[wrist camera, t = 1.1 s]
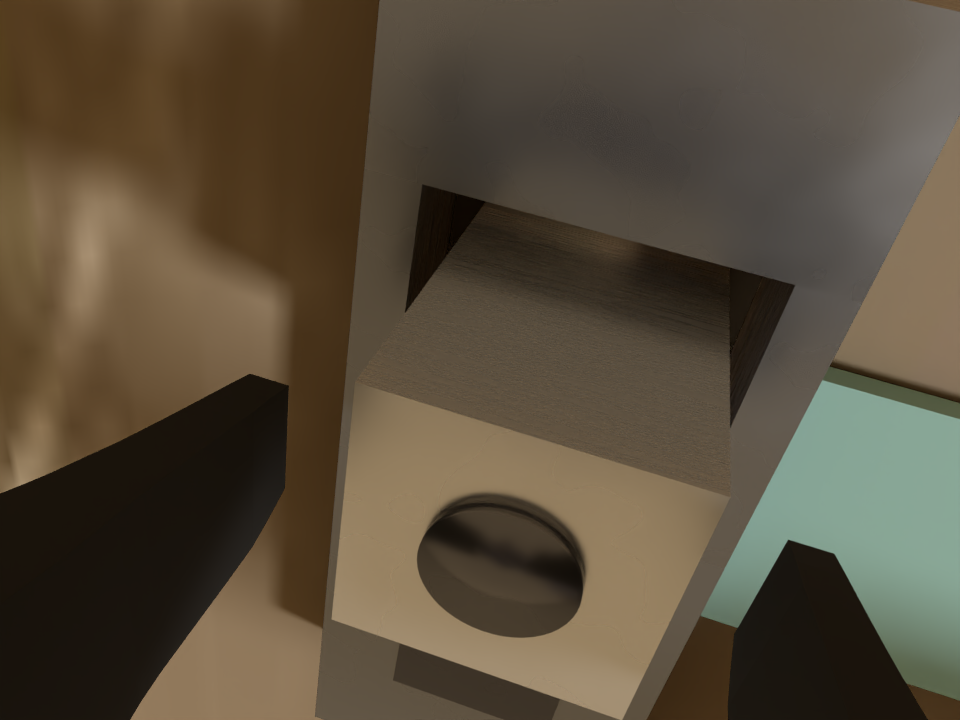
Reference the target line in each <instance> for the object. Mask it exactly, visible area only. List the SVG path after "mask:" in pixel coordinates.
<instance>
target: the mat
mask: <svg viewBox="0 0 960 720" xmlns="http://www.w3.org/2000/svg"><path fill="white" fill-rule="evenodd" d="M788 540H791V541H795V542H798V543H801V544H804V545H808V546H811V547H814V548H817V549H821V550H824V551H827V552H830V553H834V554H835V556H836V557H837V559H838V561H839V563H840V565H841V566H842V568H843V570H844V572H845V574H846V576H847V577H848V579H849V581H850V583H851V585H852V587H853V589H854V590H855V592H856V594H857V596H858V598H859V600H860V601H861V603H862V605H863V607H864V609H865V611H866V613H867V614H868V616H869V618H870V620H871V622H872V624H873V625H874V627H875V629H876V631H877V633H878V635H879V636H880V638H881V640H882V642H883V644H884V645H885V647H886V649H887V651H888V653H889V654H890V656H891V658H892V660H893V661H894V663H895V665H896V667H897V669H898V670H899V672H900V674H901V675H902V677H903V679H904V681H905V682H906V683H907V684H910V685H913V686H916V687H919V688H922V689H925V690H928V691H932V692H935V693H938V694H941V695H944V696H947V697H950V698H953V699H956V700H959V701H960V403H957V402H954V401H950V400H947V399H943V398H940V397H936V396H933V395H929V394H925V393H922V392H918V391H915V390H911V389H908V388H904V387H901V386H897V385H893V384H890V383H886V382H883V381H879V380H876V379H872V378H869V377H865V376H862V375H858V374H854V373H851V372H847V371H844V370H840V369H837V368H833V367H830V366H829V368H828V370H827V372H826V374H825V376H824V378H823V380H822V382H821V384H820V386H819V388H818V390H817V392H816V393H815V395H814V397H813V399H812V401H811V403H810V405H809V407H808V409H807V411H806V413H805V415H804V417H803V419H802V420H801V422H800V424H799V426H798V428H797V430H796V432H795V434H794V436H793V438H792V440H791V442H790V444H789V446H788V448H787V449H786V451H785V453H784V455H783V457H782V459H781V461H780V463H779V465H778V467H777V469H776V471H775V473H774V475H773V476H772V478H771V480H770V482H769V484H768V486H767V488H766V490H765V492H764V494H763V496H762V498H761V500H760V502H759V503H758V505H757V507H756V509H755V511H754V513H753V515H752V517H751V519H750V521H749V523H748V525H747V527H746V529H745V531H744V532H743V534H742V536H741V538H740V540H739V542H738V544H737V546H736V548H735V550H734V552H733V554H732V556H731V558H730V559H729V561H728V563H727V565H726V567H725V569H724V571H723V573H722V575H721V577H720V579H719V581H718V583H717V585H716V586H715V588H714V590H713V592H712V594H711V596H710V598H709V600H708V602H707V604H706V606H705V608H704V610H703V612H702V614H701V615H700V616H702V617H705V618H708V619H712V620H715V621H718V622H721V623H724V624H727V625H730V626H733V627H736V628H738V627H739V625H740V623H741V621H742V620H743V618H744V616H745V614H746V613H747V611H748V609H749V607H750V606H751V604H752V602H753V600H754V599H755V597H756V595H757V593H758V592H759V590H760V588H761V586H762V585H763V583H764V581H765V579H766V577H767V576H768V574H769V572H770V570H771V569H772V567H773V565H774V563H775V562H776V560H777V558H778V556H779V555H780V553H781V551H782V549H783V548H784V546H785V544H786V542H787V541H788Z"/></svg>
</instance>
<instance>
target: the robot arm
mask: <svg viewBox="0 0 960 720" xmlns="http://www.w3.org/2000/svg"><path fill="white" fill-rule="evenodd" d="M288 390H289V386H288V385H285V384H281V383H278V382H275V381H272V380H268V379H265V378H262V377H259V376H255V375H252V374H249V375H247V376H245V377H243V378H241V379H239V380H237V381H235V382H233V383H231V384H229V385H227V386H225V387H223V388H222V389H220V390H218V391H216V392H214V393H212V394H210V395H208V396H206V397H205V398H203V399H201V400H199V401H197V402H195V403H193V404H191V405H189V406H188V407H186V408H184V409H182V410H180V411H178V412H176V413H174V414H172V415H170V416H169V417H167V418H165V419H163V420H161V421H159V422H157V423H155V424H153V425H151V426H149V427H147V428H145V429H143V430H141V431H139V432H137V433H135V434H133V435H131V436H129V437H127V438H125V439H123V440H121V441H119V442H117V443H115V444H113V445H111V446H109V447H106V448H104V449H102V450H100V451H98V452H95V453H93V454H91V455H89V456H87V457H85V458H82V459H80V460H78V461H76V462H74V463H71V464H69V465H67V466H65V467H63V468H60V469H58V470H56V471H54V472H52V473H50V474H47V475H45V476H43V477H40V478H38V479H35V480H33V481H31V482H28V483H26V484H23V485H21V486H18V487H16V488H13V489H11V490H8V491H6V492H3V493H0V720H130V719H131V717H132V716H133V714H134V712H135V711H136V709H137V707H138V706H139V704H140V702H141V701H142V699H143V698H144V696H145V695H146V693H147V692H148V690H149V689H150V687H151V686H152V684H153V683H154V681H155V680H156V678H157V677H158V676H159V674H160V673H161V671H162V670H163V668H164V667H165V666H166V664H167V663H168V662H169V660H170V659H171V658H172V656H173V655H174V653H175V652H176V651H177V649H178V648H179V647H180V645H181V644H182V643H183V641H184V640H185V639H186V637H187V636H188V634H189V633H190V632H191V630H192V629H193V628H194V626H195V625H196V624H197V622H198V621H199V619H200V618H201V617H202V615H203V614H204V613H205V611H206V610H207V609H208V607H209V606H210V605H211V603H212V602H213V600H214V599H215V598H216V596H217V595H218V594H219V592H220V591H221V590H222V588H223V587H224V585H225V584H226V583H227V581H228V580H229V579H230V577H231V576H232V574H233V573H234V572H235V570H236V569H237V568H238V566H239V565H240V563H241V562H242V561H243V559H244V558H245V556H246V555H247V554H248V552H249V551H250V549H251V548H252V547H253V545H254V543H255V541H256V540H257V538H258V536H259V534H260V533H261V531H262V529H263V527H264V526H265V524H266V522H267V520H268V518H269V517H270V515H271V513H272V511H273V509H274V507H275V505H276V504H277V502H278V500H279V498H280V496H281V494H282V492H283V491H284V489H285V469H286V443H287V417H288ZM728 720H928V719H927V718H926V716H925V714H924V713H923V711H922V709H921V708H920V706H919V704H918V703H917V701H916V699H915V698H914V696H913V694H912V693H911V691H910V689H909V687H908V686H907V684H906V682H905V681H904V679H903V677H902V675H901V674H900V672H899V670H898V669H897V667H896V665H895V663H894V661H893V660H892V658H891V656H890V654H889V653H888V651H887V649H886V647H885V645H884V644H883V642H882V640H881V638H880V636H879V635H878V633H877V631H876V629H875V627H874V625H873V624H872V622H871V620H870V618H869V616H868V614H867V613H866V611H865V609H864V607H863V605H862V603H861V601H860V600H859V598H858V596H857V594H856V592H855V590H854V589H853V587H852V585H851V583H850V581H849V579H848V577H847V576H846V574H845V572H844V570H843V568H842V566H841V565H840V563H839V561H838V559H837V557H836V556H835V554H834V553H830V552H827V551H824V550H821V549H817V548H814V547H811V546H808V545H804V544H801V543H798V542H795V541H791V540H788V541H787V542H786V544H785V546H784V548H783V549H782V551H781V553H780V555H779V556H778V558H777V560H776V562H775V563H774V565H773V567H772V569H771V570H770V572H769V574H768V576H767V577H766V579H765V581H764V583H763V585H762V586H761V588H760V590H759V592H758V593H757V595H756V597H755V599H754V600H753V602H752V604H751V606H750V607H749V609H748V611H747V613H746V614H745V616H744V618H743V620H742V621H741V623H740V625H739V627H738V628H737V630H736V632H735V634H734V641H733V651H732V661H731V671H730V684H729V697H728Z"/></svg>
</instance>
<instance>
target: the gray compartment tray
mask: <svg viewBox="0 0 960 720" xmlns="http://www.w3.org/2000/svg"><path fill="white" fill-rule="evenodd" d="M959 115H960V0H379V11H378V22H377V33H376V44H375V55H374V66H373V78H372V89H371V100H370V111H369V122H368V133H367V144H366V155H365V166H364V178H363V189H362V200H361V211H360V222H359V233H358V244H357V255H356V266H355V277H354V289H353V300H352V311H351V322H350V333H349V344H348V355H347V366H346V377H345V388H344V400H343V411H342V422H341V433H340V444H339V455H338V466H337V477H336V488H335V500H334V511H333V522H332V533H331V544H330V555H329V566H328V577H327V588H326V599H325V611H324V622H323V633H322V644H321V655H320V666H319V677H318V688H317V699H316V710H315V717H318V718H321V719H324V720H619V719H616V718H614V717H611V716H608V715H605V714H602V713H599V712H596V711H593V710H591V709H588V708H585V707H582V706H579V705H576V704H573V703H570V702H568V701H565V700H562V699H559V698H556V697H553V696H550V695H547V694H545V693H542V692H539V691H536V690H533V689H530V688H527V687H524V686H522V685H519V684H516V683H513V682H510V681H507V680H504V679H501V678H499V677H496V676H493V675H490V674H487V673H484V672H481V671H478V670H476V669H473V668H470V667H467V666H464V665H461V664H458V663H455V662H453V661H450V660H447V659H444V658H441V657H438V656H435V655H432V654H430V653H427V652H424V651H421V650H418V649H415V648H412V647H409V646H407V645H404V644H401V643H398V642H395V641H392V640H389V639H386V638H384V637H381V636H378V635H375V634H372V633H369V632H366V631H363V630H361V629H358V628H355V627H352V626H349V625H346V624H343V623H340V622H338V621H335V620H332V610H333V599H334V589H335V579H336V569H337V559H338V549H339V539H340V529H341V519H342V509H343V499H344V489H345V479H346V469H347V458H348V448H349V438H350V428H351V418H352V408H353V398H354V388H355V382H356V380H357V379H358V377H359V376H360V375H361V373H362V372H363V371H364V369H365V368H366V366H367V365H368V364H369V362H370V361H371V360H372V358H373V357H374V355H375V354H376V353H377V351H378V350H379V349H380V347H381V346H382V344H383V343H384V342H385V340H386V339H387V337H388V336H389V335H390V333H391V332H392V331H393V329H394V328H395V326H396V325H397V324H398V322H399V321H400V320H401V318H402V317H403V315H404V314H405V313H406V311H407V310H408V309H409V307H410V306H411V304H412V303H413V302H414V300H415V299H416V297H417V296H418V295H419V293H420V292H421V291H422V289H423V288H424V286H425V285H426V284H427V282H428V281H429V280H430V278H431V277H432V275H433V274H434V273H435V271H436V270H437V269H438V267H439V266H440V264H441V263H442V262H443V260H444V259H445V258H446V253H447V247H448V241H449V235H450V229H451V223H452V217H453V210H454V204H455V198H456V193H457V194H460V195H464V196H468V197H471V198H475V199H479V200H482V201H486V202H490V203H494V204H497V205H501V206H505V207H508V208H512V209H516V210H519V211H523V212H527V213H531V214H534V215H538V216H542V217H545V218H549V219H553V220H556V221H560V222H564V223H568V224H571V225H575V226H579V227H582V228H586V229H590V230H593V231H597V232H601V233H605V234H608V235H612V236H616V237H619V238H623V239H627V240H630V241H634V242H638V243H642V244H645V245H649V246H653V247H656V248H660V249H664V250H667V251H671V252H675V253H678V254H682V255H686V256H690V257H693V258H697V259H701V260H704V261H708V262H712V263H715V264H719V265H723V266H727V267H730V268H734V269H738V270H741V271H745V272H749V273H752V274H756V275H760V276H763V278H762V280H761V283H760V285H759V287H758V290H757V292H756V295H755V297H754V299H753V302H752V304H751V306H750V309H749V311H748V313H747V316H746V318H745V320H744V323H743V325H742V327H741V330H740V332H739V335H738V337H737V339H736V342H735V344H734V346H733V349H732V351H731V353H730V493H731V497H730V499H729V501H728V503H727V506H726V508H725V510H724V512H723V514H722V516H721V518H720V520H719V522H718V524H717V526H716V528H715V530H714V532H713V534H712V536H711V538H710V540H709V543H708V545H707V547H706V549H705V551H704V553H703V555H702V557H701V559H700V561H699V563H698V565H697V567H696V569H695V571H694V573H693V575H692V577H691V580H690V582H689V584H688V586H687V588H686V590H685V592H684V594H683V596H682V598H681V600H680V602H679V604H678V606H677V608H676V610H675V612H674V614H673V617H672V619H671V621H670V623H669V625H668V627H667V629H666V631H665V633H664V635H663V637H662V639H661V641H660V643H659V645H658V647H657V649H656V651H655V653H654V656H653V658H652V660H651V662H650V664H649V666H648V668H647V670H646V672H645V674H644V676H643V678H642V680H641V682H640V684H639V686H638V688H637V690H636V693H635V695H634V697H633V699H632V701H631V703H630V705H629V707H628V709H627V711H626V713H625V715H624V717H623V719H622V720H647V718H648V716H649V714H650V712H651V710H652V708H653V706H654V704H655V702H656V700H657V698H658V697H659V695H660V693H661V691H662V689H663V687H664V685H665V683H666V681H667V679H668V677H669V675H670V673H671V671H672V670H673V668H674V666H675V664H676V662H677V660H678V658H679V656H680V654H681V652H682V650H683V648H684V646H685V644H686V642H687V641H688V639H689V637H690V635H691V633H692V631H693V629H694V627H695V625H696V623H697V621H698V619H699V617H700V615H701V614H702V612H703V610H704V608H705V606H706V604H707V602H708V600H709V598H710V596H711V594H712V592H713V590H714V588H715V586H716V585H717V583H718V581H719V579H720V577H721V575H722V573H723V571H724V569H725V567H726V565H727V563H728V561H729V559H730V558H731V556H732V554H733V552H734V550H735V548H736V546H737V544H738V542H739V540H740V538H741V536H742V534H743V532H744V531H745V529H746V527H747V525H748V523H749V521H750V519H751V517H752V515H753V513H754V511H755V509H756V507H757V505H758V503H759V502H760V500H761V498H762V496H763V494H764V492H765V490H766V488H767V486H768V484H769V482H770V480H771V478H772V476H773V475H774V473H775V471H776V469H777V467H778V465H779V463H780V461H781V459H782V457H783V455H784V453H785V451H786V449H787V448H788V446H789V444H790V442H791V440H792V438H793V436H794V434H795V432H796V430H797V428H798V426H799V424H800V422H801V420H802V419H803V417H804V415H805V413H806V411H807V409H808V407H809V405H810V403H811V401H812V399H813V397H814V395H815V393H816V392H817V390H818V388H819V386H820V384H821V382H822V380H823V378H824V376H825V374H826V372H827V370H828V368H829V366H830V365H831V363H832V361H833V359H834V357H835V355H836V353H837V351H838V349H839V347H840V345H841V343H842V341H843V339H844V337H845V336H846V334H847V332H848V330H849V328H850V326H851V324H852V322H853V320H854V318H855V316H856V314H857V312H858V310H859V309H860V307H861V305H862V303H863V301H864V299H865V297H866V295H867V293H868V291H869V289H870V287H871V285H872V283H873V281H874V280H875V278H876V276H877V274H878V272H879V270H880V268H881V266H882V264H883V262H884V260H885V258H886V256H887V254H888V253H889V251H890V249H891V247H892V245H893V243H894V241H895V239H896V237H897V235H898V233H899V231H900V229H901V227H902V226H903V224H904V222H905V220H906V218H907V216H908V214H909V212H910V210H911V208H912V206H913V204H914V202H915V200H916V198H917V197H918V195H919V193H920V191H921V189H922V187H923V185H924V183H925V181H926V179H927V177H928V175H929V173H930V171H931V170H932V168H933V166H934V164H935V162H936V160H937V158H938V156H939V154H940V152H941V150H942V148H943V146H944V144H945V143H946V141H947V139H948V137H949V135H950V133H951V131H952V129H953V127H954V125H955V123H956V121H957V119H958V117H959Z"/></svg>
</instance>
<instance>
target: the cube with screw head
mask: <svg viewBox="0 0 960 720" xmlns="http://www.w3.org/2000/svg"><path fill="white" fill-rule="evenodd" d="M730 497H731V493H730V325H729V267H727V266H723V265H719V264H715V263H712V262H708V261H704V260H701V259H697V258H693V257H690V256H686V255H682V254H678V253H675V252H671V251H667V250H664V249H660V248H656V247H653V246H649V245H645V244H642V243H638V242H634V241H630V240H627V239H623V238H619V237H616V236H612V235H608V234H605V233H601V232H597V231H593V230H590V229H586V228H582V227H579V226H575V225H571V224H568V223H564V222H560V221H556V220H553V219H549V218H545V217H542V216H538V215H534V214H531V213H527V212H523V211H519V210H516V209H512V208H508V207H505V206H501V205H497V204H494V203H490V202H485V204H484V205H483V206H482V208H481V209H480V211H479V212H478V213H477V215H476V216H475V218H474V219H473V220H472V222H471V223H470V224H469V226H468V227H467V229H466V230H465V231H464V233H463V234H462V235H461V237H460V238H459V240H458V241H457V242H456V244H455V245H454V246H453V248H452V249H451V251H450V252H449V253H448V255H447V256H446V258H445V259H444V260H443V262H442V263H441V264H440V266H439V267H438V269H437V270H436V271H435V273H434V274H433V275H432V277H431V278H430V280H429V281H428V282H427V284H426V285H425V286H424V288H423V289H422V291H421V292H420V293H419V295H418V296H417V297H416V299H415V300H414V302H413V303H412V304H411V306H410V307H409V309H408V310H407V311H406V313H405V314H404V315H403V317H402V318H401V320H400V321H399V322H398V324H397V325H396V326H395V328H394V329H393V331H392V332H391V333H390V335H389V336H388V337H387V339H386V340H385V342H384V343H383V344H382V346H381V347H380V349H379V350H378V351H377V353H376V354H375V355H374V357H373V358H372V360H371V361H370V362H369V364H368V365H367V366H366V368H365V369H364V371H363V372H362V373H361V375H360V376H359V377H358V379H357V380H356V382H355V388H354V398H353V408H352V418H351V428H350V438H349V448H348V458H347V469H346V479H345V489H344V499H343V509H342V519H341V529H340V539H339V549H338V559H337V569H336V579H335V589H334V599H333V610H332V620H335V621H338V622H340V623H343V624H346V625H349V626H352V627H355V628H358V629H361V630H363V631H366V632H369V633H372V634H375V635H378V636H381V637H384V638H386V639H389V640H392V641H395V642H398V643H401V644H404V645H407V646H409V647H412V648H415V649H418V650H421V651H424V652H427V653H430V654H432V655H435V656H438V657H441V658H444V659H447V660H450V661H453V662H455V663H458V664H461V665H464V666H467V667H470V668H473V669H476V670H478V671H481V672H484V673H487V674H490V675H493V676H496V677H499V678H501V679H504V680H507V681H510V682H513V683H516V684H519V685H522V686H524V687H527V688H530V689H533V690H536V691H539V692H542V693H545V694H547V695H550V696H553V697H556V698H559V699H562V700H565V701H568V702H570V703H573V704H576V705H579V706H582V707H585V708H588V709H591V710H593V711H596V712H599V713H602V714H605V715H608V716H611V717H614V718H616V719H619V720H622V719H623V717H624V715H625V713H626V711H627V709H628V707H629V705H630V703H631V701H632V699H633V697H634V695H635V693H636V690H637V688H638V686H639V684H640V682H641V680H642V678H643V676H644V674H645V672H646V670H647V668H648V666H649V664H650V662H651V660H652V658H653V656H654V653H655V651H656V649H657V647H658V645H659V643H660V641H661V639H662V637H663V635H664V633H665V631H666V629H667V627H668V625H669V623H670V621H671V619H672V617H673V614H674V612H675V610H676V608H677V606H678V604H679V602H680V600H681V598H682V596H683V594H684V592H685V590H686V588H687V586H688V584H689V582H690V580H691V577H692V575H693V573H694V571H695V569H696V567H697V565H698V563H699V561H700V559H701V557H702V555H703V553H704V551H705V549H706V547H707V545H708V543H709V540H710V538H711V536H712V534H713V532H714V530H715V528H716V526H717V524H718V522H719V520H720V518H721V516H722V514H723V512H724V510H725V508H726V506H727V503H728V501H729V499H730Z"/></svg>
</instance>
